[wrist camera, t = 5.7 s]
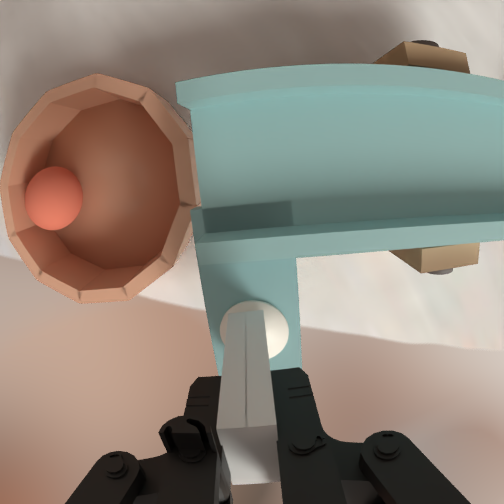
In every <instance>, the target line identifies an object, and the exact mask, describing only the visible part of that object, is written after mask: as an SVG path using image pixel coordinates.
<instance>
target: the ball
mask: <svg viewBox="0 0 504 504" xmlns="http://www.w3.org/2000/svg"><path fill="white" fill-rule="evenodd" d="M82 203H83V191H82V187H81V184H80V182H79V180H78V178H77V177H76V176H75V175H74V174H73V173H72V172H71V171H69V170H68V169H65V168H62V167H57V166H55V167H48V168H45V169H43V170H41V171H40V172H38V173H37V174H36V175H35V176H34V177H33V178H32V179H31V181H30V182H29V184H28V186H27V189H26V193H25V208H26V211H27V214H28V216H29V217H30V219H31V220H32V221H33V222H34V223H35V224H36V225H37V226H39V227H41V228H43V229H46V230H59V229H62V228H64V227H66V226H68V225H69V224H71V223H72V222H73V221H74V220H75V219H76V217H77V216H78V214H79V212H80V210H81V207H82Z"/></svg>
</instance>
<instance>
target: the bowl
mask: <svg viewBox="0 0 504 504" xmlns="http://www.w3.org/2000/svg"><path fill="white" fill-rule="evenodd" d="M55 166H57V167H62V168H65V169H68V170H69V171H71V172H72V173H73V174H74V175H75V176H76V177H77V178H78V180H79V182H80V184H81V187H82V191H83V203H82V207H81V210H80V212H79V214H78V216H77V217H76V219H75V220H74V221H73V222H72V223H71V224H69V225H68V226H66V227H64V228H62V229H59V230H46V229H43V228H41V227H39V226H37V225H36V224H35V223H34V222H33V221H32V220H31V219H30V217H29V216H28V214H27V211H26V208H25V193H26V189H27V186H28V184H29V182H30V181H31V179H32V178H33V177H34V176H35V175H36V174H37V173H38V172H40V171H41V170H43V169H45V168H48V167H55ZM0 185H1V186H0V194H1V200H2V207H3V213H4V218H5V224H6V229H7V234H8V237H9V240H10V241H11V243H12V244H13V246H14V248H15V249H16V251H17V252H18V254H19V255H20V257H21V258H22V260H23V261H24V263H25V264H26V266H27V267H28V268H29V270H30V271H31V273H32V274H33V275H34V277H35V278H36V279H38V281H39V282H41V283H43V284H44V285H46V286H48V287H50V288H52V289H53V290H55V291H57V292H59V293H61V294H63V295H64V296H66V297H68V298H70V299H72V300H74V301H76V302H78V303H81V304H83V303H100V302H115V301H129V300H131V299H132V298H133V297H134V296H136V295H137V294H138V293H140V292H141V291H142V290H143V289H145V288H146V287H147V286H149V285H150V284H151V283H152V282H154V281H155V280H156V279H158V278H159V277H160V276H162V275H163V274H164V273H165V272H167V271H168V270H169V269H171V268H172V267H173V266H174V264H175V263H176V261H177V260H178V259H179V257H180V256H181V254H182V253H183V251H184V250H185V249H186V247H187V245H188V242H189V240H190V237H191V235H192V232H193V228H192V221H191V215H190V210H191V209H193V208H195V207H198V206H201V198H200V191H199V183H198V175H197V167H196V159H195V150H194V141H193V133H192V132H191V130H190V129H189V127H188V126H187V124H186V123H185V122H184V121H183V119H182V118H181V117H180V116H179V115H178V114H177V112H176V111H175V110H174V109H173V107H172V106H171V105H170V103H169V102H168V101H166V100H165V99H164V98H162V97H161V96H159V95H158V94H157V93H155V92H154V91H153V90H151V89H150V88H147V87H144V86H141V85H138V84H134V83H131V82H128V81H124V80H121V79H117V78H114V77H110V76H106V75H102V74H99V73H95V74H92V75H89V76H86V77H83V78H80V79H77V80H75V81H72V82H69V83H66V84H64V85H61V86H59V87H56V88H54V89H51V90H49V91H47V92H46V93H45V94H44V95H43V96H42V97H41V98H40V100H39V101H38V102H37V103H36V104H35V105H34V107H33V108H32V109H31V110H30V111H29V112H28V114H27V115H26V116H25V117H24V119H23V120H22V121H21V122H20V124H19V125H18V126H17V128H16V129H15V130H14V131H13V133H12V136H11V140H10V143H9V147H8V151H7V155H6V158H5V163H4V167H3V171H2V175H1V180H0Z"/></svg>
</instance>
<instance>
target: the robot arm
mask: <svg viewBox="0 0 504 504" xmlns="http://www.w3.org/2000/svg"><path fill="white" fill-rule="evenodd" d="M159 435H160V437H161V439H162V442H163V444H164V446H165V448H166V450H167V453H165V454H163V455H160V456H157V457H153V458H148V459H143V460H137V459H136V458H135V456H134V455H132V454H130V453H128V452H122V451H116V452H110V453H108V454H106V455H103V456H102V457H101V458H100V459H99V460H98V461H97V462H96V463H95V465H94V466H93V467H92V469H91V470H90V471H89V473H88V474H87V475H86V476H85V478H84V479H83V480H82V482H81V483H80V484H79V486H78V487H77V488H76V490H75V491H74V492H73V494H72V495H71V496H70V498H69V499H68V500H67V502H66V503H65V504H233V498H232V494H231V491H230V484H231V481H232V484H233V485H237V484H256V483H268V482H279V481H281V489H282V498H283V504H471V503H470V502H469V501H468V500H467V499H466V498H465V497H464V496H463V495H462V494H461V493H460V492H459V491H458V490H457V489H456V488H455V487H454V486H453V485H452V484H451V482H450V481H449V480H448V479H447V478H446V477H445V476H444V475H443V474H442V473H441V472H440V471H439V470H438V469H437V468H436V467H435V466H434V465H433V464H432V463H431V462H430V460H429V459H428V458H427V457H426V456H425V455H424V454H423V453H422V452H421V451H420V450H419V449H418V448H417V447H416V446H415V445H414V444H413V443H412V442H411V440H410V439H409V438H407V437H406V436H405V435H403V434H402V433H399V432H395V431H381V432H377V433H374V434H373V435H371V436H369V437H368V438H367V439H366V440H365V441H364V443H352V442H342V441H338V440H336V439H333V438H331V437H330V436H328V435H327V434H326V433H325V431H324V430H323V428H322V425H321V422H320V418H319V414H318V411H317V407H316V403H315V400H314V396H313V392H312V389H311V385H310V382H309V378H308V375H307V374H306V373H305V372H304V371H303V370H302V369H301V368H300V367H296V368H288V369H280V370H271V371H270V363H269V355H268V346H267V337H266V329H265V320H264V312H263V310H257V311H247V312H237V313H228V320H227V330H226V339H225V348H224V357H223V367H222V376H211V377H198V378H197V379H196V380H195V381H194V383H193V384H192V385H191V386H190V390H189V395H188V399H187V403H186V408H185V412H184V416H178V417H176V418H173V419H171V420H169V421H168V422H166V423H165V424H164V425H163V426H162V427H161V429H160V431H159Z"/></svg>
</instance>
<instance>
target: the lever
mask: <svg viewBox="0 0 504 504" xmlns="http://www.w3.org/2000/svg"><path fill="white" fill-rule="evenodd" d="M175 84H176V95H177V104H179V105H181V106H183V107H185V108H187V109H190V113H191V123H192V132H193V141H194V150H195V159H196V167H197V175H198V183H199V191H200V198H201V206H198V207H195V208H193V209H191V210H190V215H191V221H192V228H193V235H194V241H195V248H196V254H197V260H198V267H199V273H200V279H201V285H202V290H203V296H204V302H205V307H206V313H207V318H208V323H209V329H210V334H211V339H212V344H213V349H214V354H215V359H216V364H217V369H218V374H219V376H222V367H223V357H224V348H225V339H226V330H227V320H228V313H237V312H247V311H257V310H263V312H264V320H265V329H266V337H267V346H268V355H269V363H270V371H271V370H280V369H288V368H296V367H300V368H301V369H302V358H301V335H300V315H299V297H298V281H297V266H296V258H302V257H314V256H327V255H339V254H352V253H364V252H376V251H388V250H400V249H411V248H423V247H434V246H445V245H457V244H468V243H479V242H489V241H500V240H504V81H502V80H498V79H493V78H489V77H484V76H478V75H473V74H467V73H461V72H455V71H448V70H441V69H433V68H424V67H413V66H401V65H384V64H310V65H293V66H280V67H270V68H260V69H251V70H244V71H236V72H229V73H223V74H217V75H211V76H205V77H200V78H194V79H189V80H185V81H180V82H175Z"/></svg>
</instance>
